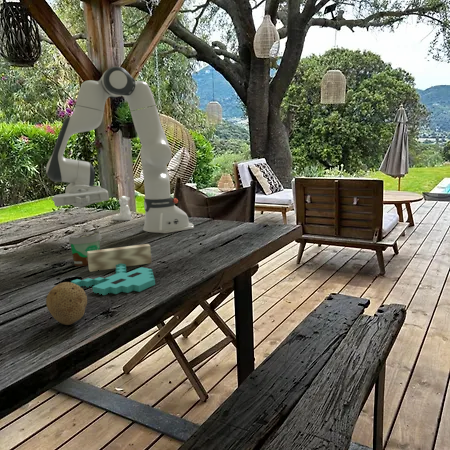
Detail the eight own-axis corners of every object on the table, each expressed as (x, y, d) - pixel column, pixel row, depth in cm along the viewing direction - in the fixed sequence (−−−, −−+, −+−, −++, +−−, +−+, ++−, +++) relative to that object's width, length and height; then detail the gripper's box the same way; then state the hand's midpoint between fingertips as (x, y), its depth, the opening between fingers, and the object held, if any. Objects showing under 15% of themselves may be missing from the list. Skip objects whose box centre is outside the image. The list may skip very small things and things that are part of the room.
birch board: (149, 260, 155) (148, 243, 154) (151, 263, 152) (150, 245, 151) (88, 269, 147) (87, 251, 146) (90, 271, 144) (88, 253, 143)
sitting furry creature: (128, 217, 232) (127, 193, 230) (137, 219, 226) (136, 195, 224) (112, 219, 226) (110, 196, 224) (121, 222, 220) (119, 197, 217)
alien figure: (71, 288, 131) (122, 301, 121) (70, 281, 130) (121, 293, 120) (121, 269, 147) (169, 279, 137) (120, 263, 147) (169, 272, 137)
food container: (84, 269, 147) (82, 239, 145) (71, 267, 150) (68, 237, 148) (111, 259, 158) (108, 231, 156) (97, 257, 161) (95, 229, 158)
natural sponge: (59, 314, 111) (55, 276, 109) (95, 315, 111) (91, 276, 108) (42, 331, 103) (37, 289, 100) (80, 332, 102) (76, 289, 100)
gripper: (50, 190, 176) (53, 195, 163) (104, 185, 184) (110, 189, 171) (52, 206, 177) (55, 212, 165) (105, 200, 185) (112, 205, 173)
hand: (84, 200), depth 168 cm, fingers closed
